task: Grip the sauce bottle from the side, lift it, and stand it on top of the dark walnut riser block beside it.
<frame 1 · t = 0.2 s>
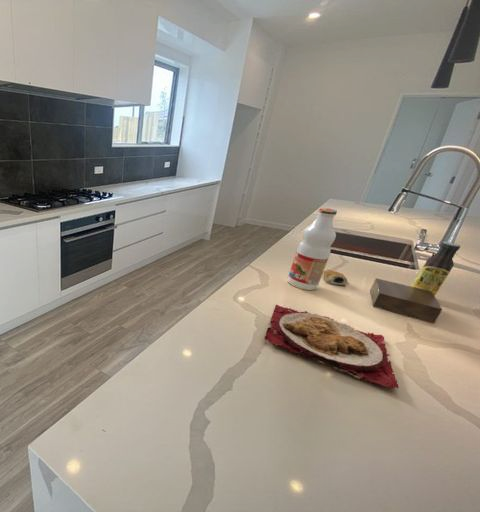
plate with food: (322, 341, 79), on the counter
fruit juice: (301, 284, 109), on the counter
sauce bottle: (420, 296, 104), on the counter
pastry: (332, 281, 113), on the counter
riser: (399, 305, 98), on the counter
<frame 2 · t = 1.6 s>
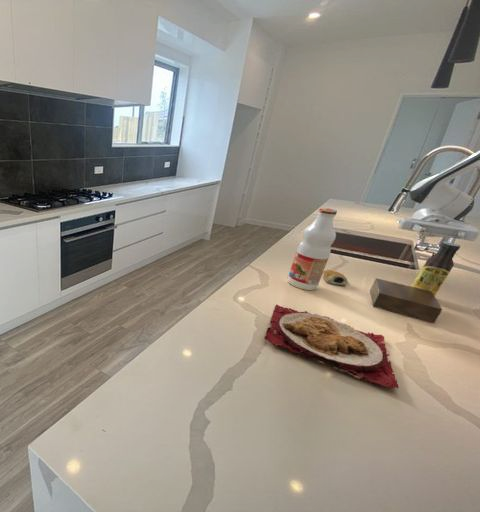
hand: (440, 233, 105), 20 cm above the counter, tool horizontal, fingers open, 8 cm apart
nothing on the counter moved.
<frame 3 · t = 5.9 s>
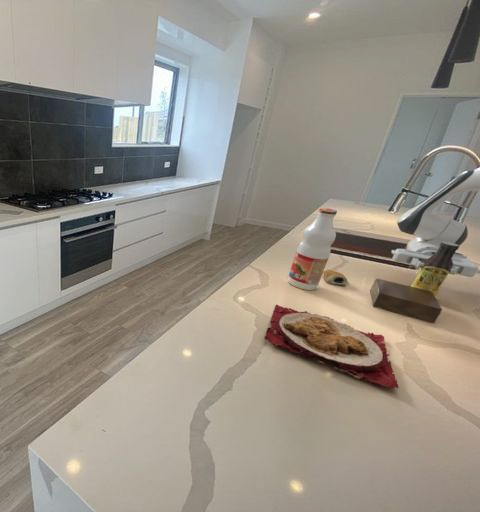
hand: (436, 268, 99), 11 cm above the counter, tool horizontal, fingers closed on sauce bottle, 6 cm apart
sauce bottle: (420, 296, 104), on the counter, touching gripper
everything else where it was.
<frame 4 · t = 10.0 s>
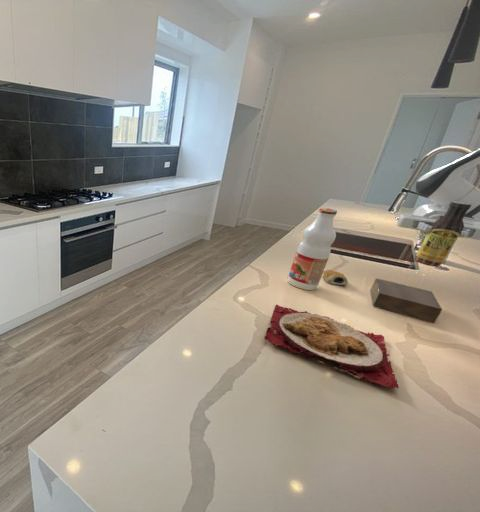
hand: (446, 231, 90), 25 cm above the counter, tool horizontal, fingers closed on sauce bottle, 6 cm apart
sauce bottle: (427, 264, 95), point 14 cm above the counter, touching gripper
everything else where it was.
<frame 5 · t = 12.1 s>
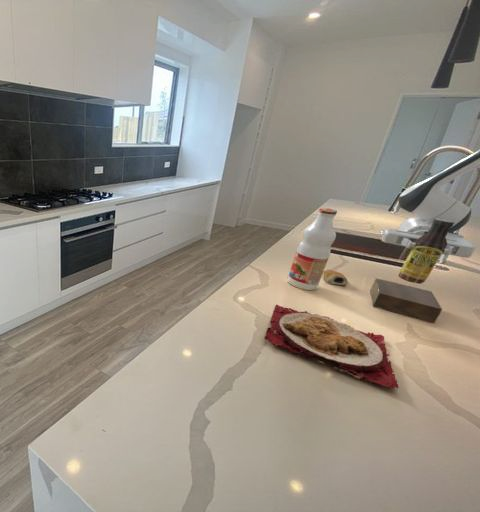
hand: (429, 248, 89), 20 cm above the counter, tool horizontal, fingers closed on sauce bottle, 6 cm apart
sauce bottle: (410, 280, 94), point 9 cm above the counter, touching gripper
everything else where it was.
when the fingers open (16 cm above the counter, at t = 13.9 s): sauce bottle stays where it is, resting on riser.
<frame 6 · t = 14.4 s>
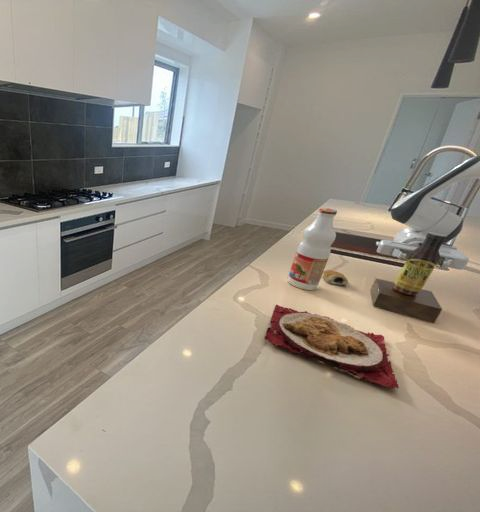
hand: (423, 260, 91), 16 cm above the counter, tool horizontal, fingers open, 8 cm apart
sauce bottle: (404, 292, 96), point 5 cm above the counter, touching riser
everything else where it was.
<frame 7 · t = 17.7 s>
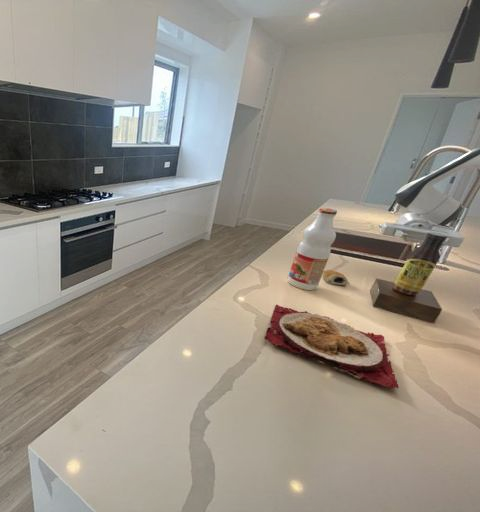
hand: (423, 239, 99), 20 cm above the counter, tool horizontal, fingers open, 8 cm apart
nothing on the counter moved.
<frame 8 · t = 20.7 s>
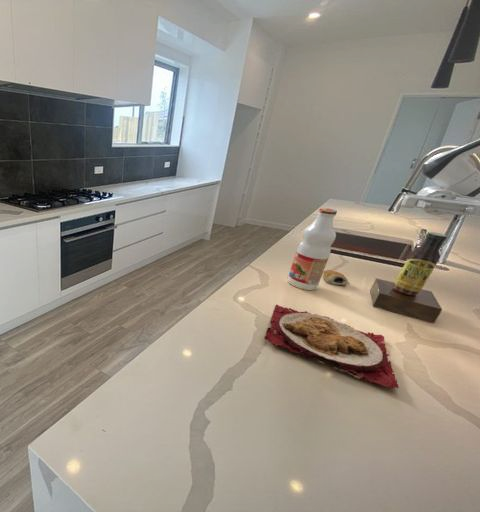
hand: (447, 208, 98), 30 cm above the counter, tool horizontal, fingers open, 8 cm apart
nothing on the counter moved.
at the end: sauce bottle inside the target area on the riser (0.2 cm from its centre), point 4.8 cm above the riser's base; sauce bottle tilted 0°; the gripper is holding nothing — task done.
